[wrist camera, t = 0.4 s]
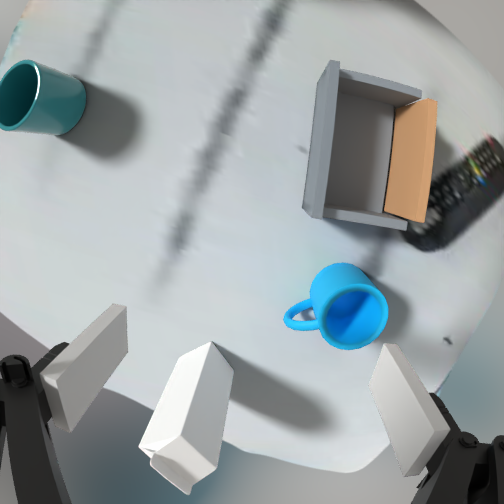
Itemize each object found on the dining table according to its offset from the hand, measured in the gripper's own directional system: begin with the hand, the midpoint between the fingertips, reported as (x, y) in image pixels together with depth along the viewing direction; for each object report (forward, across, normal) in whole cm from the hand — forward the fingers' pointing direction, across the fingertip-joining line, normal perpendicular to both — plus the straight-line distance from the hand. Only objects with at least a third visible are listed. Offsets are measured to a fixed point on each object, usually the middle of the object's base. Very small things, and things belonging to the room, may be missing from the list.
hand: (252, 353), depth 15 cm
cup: (+26, -32, +17) cm, 45 cm away
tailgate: (+25, +15, +13) cm, 32 cm away
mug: (+26, +9, -6) cm, 28 cm away
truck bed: (+26, +9, +13) cm, 30 cm away
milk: (+26, -5, -19) cm, 33 cm away
